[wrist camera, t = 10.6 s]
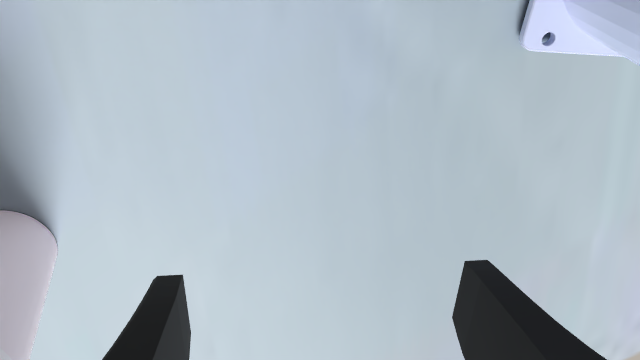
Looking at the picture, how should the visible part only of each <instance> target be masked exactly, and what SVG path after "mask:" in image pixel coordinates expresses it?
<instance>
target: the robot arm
mask: <svg viewBox="0 0 640 360" xmlns="http://www.w3.org/2000/svg"><path fill="white" fill-rule="evenodd" d="M549 32H550V33H551V35H550V38H549V40H548V41H546V42H544V43H542V38H543V36H544V35H545V34H546V33H549ZM519 41H520V44H521V45H522V46H523V47H524V48H525V49H527V50H530V51H539V52H555V53H572V54H588V55H605V56H621V57H625V58H627V59H629V60H630V61H632V62H634V63H636V64H637V65H639V66H640V0H530V1H529V5H528V8H527V11H526V15H525V18H524V22H523V25H522V29H521V32H520V37H519ZM452 318H453V322H454V326H455V329H456V333H457V337H458V340H459V343H460V347H461V350H462V353H463V356H464V358H465V360H607V359H605V358H604V357H602V356H601V355H599V354H598V353H597V352H595V351H594V350H592V349H591V348H590V347H588V346H587V345H586V344H584V343H583V342H582V341H581V340H579V339H578V338H577V337H575V336H574V335H573V334H572V333H570V332H569V331H568V330H566V329H565V328H564V327H563V326H562V325H560V324H559V323H558V322H557V321H555V320H554V319H553V318H552V317H551V316H550V315H548V314H547V313H546V312H545V311H544V310H543V309H541V308H540V307H539V306H538V305H537V304H536V303H535V302H533V301H532V300H531V299H530V298H529V297H528V296H527V295H526V294H524V293H523V292H522V291H521V290H520V289H519V288H518V287H517V286H516V285H515V284H513V283H512V282H511V281H510V280H509V279H508V278H507V277H506V276H505V275H504V274H503V273H501V272H500V271H499V270H498V269H497V268H496V267H495V266H494V265H493V264H491V263H490V262H489V261H488V260H477V261H465V263H464V267H463V272H462V276H461V281H460V285H459V289H458V294H457V298H456V303H455V307H454V312H453V316H452ZM190 339H191V330H190V323H189V316H188V309H187V302H186V294H185V287H184V280H183V275H169V276H157V277H156V278H155V279H154V280H153V281H152V283H151V285H150V287H149V289H148V291H147V292H146V294H145V296H144V298H143V299H142V301H141V303H140V305H139V306H138V308H137V309H136V311H135V313H134V314H133V316H132V317H131V319H130V321H129V322H128V324H127V325H126V327H125V328H124V329H123V331H122V332H121V334H120V335H119V337H118V338H117V340H116V341H115V343H114V344H113V346H112V347H111V348H110V350H109V351H108V352H107V354H106V355H105V356H104V358H103V359H102V360H189V354H190Z"/></svg>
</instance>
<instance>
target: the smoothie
mask: <svg viewBox="0 0 640 360" xmlns="http://www.w3.org/2000/svg"><path fill="white" fill-rule="evenodd" d="M57 254H58V247H57V243H56V240H55V238H54V236H53V235H52V233H51V232H50V231H49V230H48V229H47V228H46V227H45V226H44V225H43V224H42V223H40V222H39V221H37V220H36V219H34V218H32V217H30V216H27V215H25V214H22V213H18V212H13V211H4V210H2V211H0V360H30V356H31V352H32V349H33V345H34V341H35V337H36V334H37V330H38V326H39V322H40V319H41V315H42V311H43V307H44V304H45V300H46V296H47V292H48V289H49V285H50V281H51V277H52V274H53V270H54V266H55V262H56V259H57Z"/></svg>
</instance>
